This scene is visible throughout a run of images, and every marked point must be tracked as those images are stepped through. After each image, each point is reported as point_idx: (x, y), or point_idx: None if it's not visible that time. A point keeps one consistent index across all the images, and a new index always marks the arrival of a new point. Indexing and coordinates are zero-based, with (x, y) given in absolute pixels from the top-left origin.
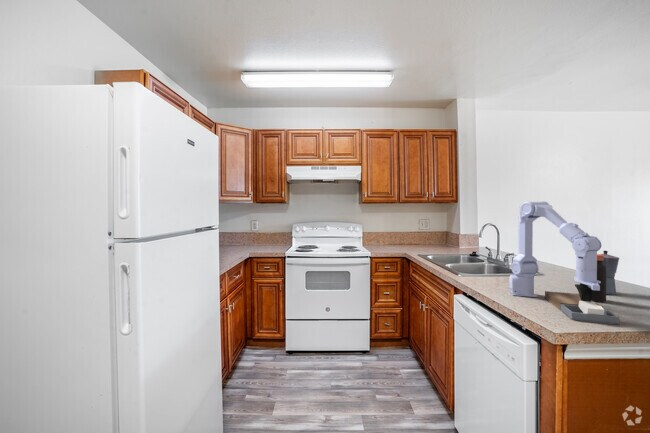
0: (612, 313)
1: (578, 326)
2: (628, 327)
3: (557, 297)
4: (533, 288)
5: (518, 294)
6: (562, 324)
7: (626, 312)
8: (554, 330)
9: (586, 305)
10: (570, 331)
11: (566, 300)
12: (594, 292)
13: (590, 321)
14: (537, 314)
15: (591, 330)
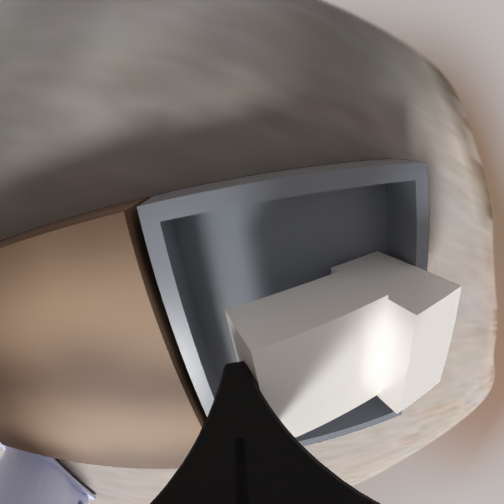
0: (332, 171)
1: (456, 357)
2: (415, 119)
3: (78, 449)
4: (23, 476)
5: (80, 489)
6: (441, 398)
7: (15, 42)
8: (480, 400)
9: (410, 400)
10: (489, 370)
11: (115, 433)
12: (341, 483)
13: None
14: (343, 466)
15: (487, 317)
